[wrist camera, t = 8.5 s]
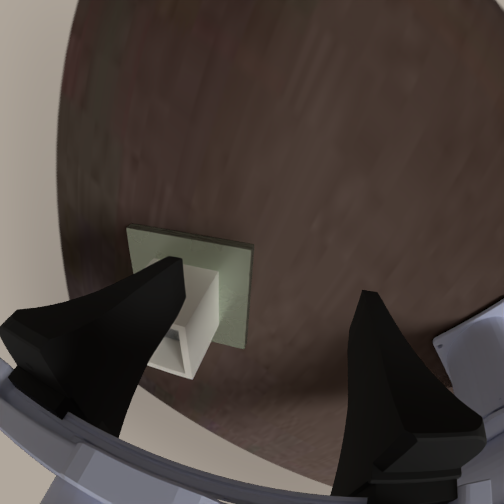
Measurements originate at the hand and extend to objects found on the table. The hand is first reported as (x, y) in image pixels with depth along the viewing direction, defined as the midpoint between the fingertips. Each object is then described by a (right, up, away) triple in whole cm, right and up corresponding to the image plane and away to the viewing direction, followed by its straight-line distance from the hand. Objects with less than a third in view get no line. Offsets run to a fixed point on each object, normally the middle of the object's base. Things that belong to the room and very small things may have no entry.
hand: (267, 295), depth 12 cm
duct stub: (-6, -1, +13) cm, 14 cm away
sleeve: (-6, -2, +12) cm, 14 cm away
